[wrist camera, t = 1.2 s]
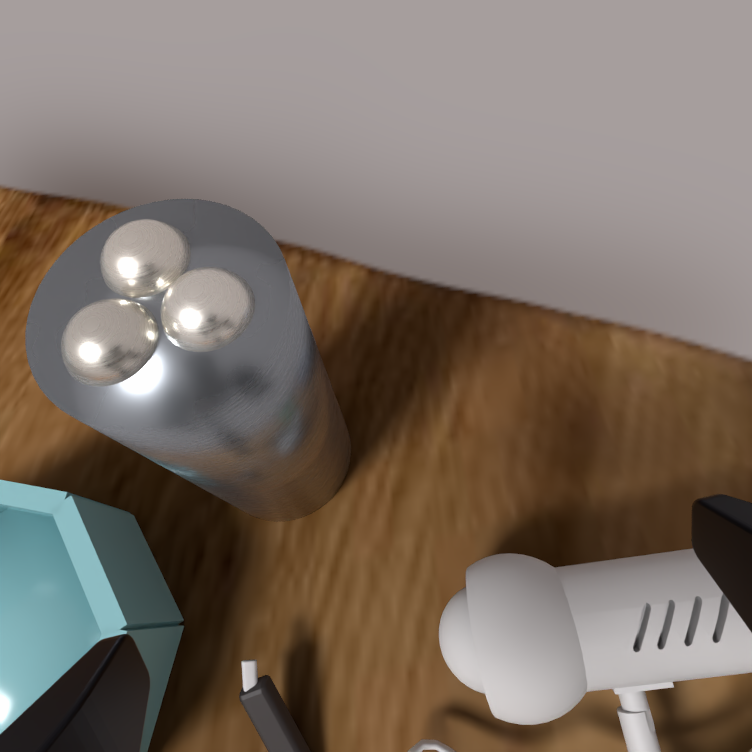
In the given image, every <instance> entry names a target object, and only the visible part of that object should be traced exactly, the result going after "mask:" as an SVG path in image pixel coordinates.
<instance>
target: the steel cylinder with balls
mask: <svg viewBox="0 0 752 752" xmlns="http://www.w3.org/2000/svg"><path fill="white" fill-rule="evenodd" d="M26 352H27V358H28V362H29V365H30V368H31V371H32V374H33V376H34V378H35V380H36V382H37V383H38V385H39V387H40V389H41V390H42V391H43V392H44V394H45V395H46V396H47V397H48V398H49V400H50V401H52V402H53V403H54V404H55V405H56V406H57V407H58V408H60V409H61V410H62V411H64V412H65V413H67V414H69V415H70V416H72V417H74V418H75V419H77V420H79V421H81V422H83V423H84V424H86V425H88V426H90V427H92V428H94V429H95V430H97V431H99V432H101V433H103V434H104V435H106V436H108V437H110V438H112V439H113V440H115V441H117V442H119V443H121V444H123V445H124V446H126V447H128V448H130V449H132V450H133V451H135V452H137V453H139V454H141V455H142V456H144V457H146V458H148V459H150V460H152V461H153V462H155V463H157V464H159V465H161V466H162V467H164V468H166V469H168V470H170V471H171V472H173V473H175V474H177V475H179V476H181V477H182V478H184V479H186V480H188V481H190V482H191V483H193V484H195V485H197V486H199V487H200V488H202V489H204V490H206V491H208V492H210V493H211V494H213V495H215V496H217V497H219V498H220V499H222V500H224V501H226V502H228V503H229V504H231V505H233V506H235V507H237V508H239V509H240V510H242V511H244V512H246V513H248V514H249V515H252V516H254V517H256V518H259V519H263V520H267V521H290V520H295V519H298V518H302V517H304V516H307V515H309V514H311V513H313V512H315V511H316V510H318V509H320V508H321V507H322V506H323V505H325V504H326V503H327V502H328V501H329V500H330V499H331V498H332V497H333V496H334V495H335V493H336V492H337V491H338V489H339V488H340V486H341V485H342V483H343V481H344V479H345V477H346V474H347V472H348V468H349V465H350V459H351V441H350V435H349V432H348V429H347V426H346V423H345V420H344V418H343V415H342V412H341V410H340V407H339V404H338V402H337V399H336V396H335V394H334V391H333V388H332V385H331V383H330V380H329V377H328V375H327V372H326V369H325V367H324V364H323V361H322V359H321V356H320V353H319V350H318V348H317V345H316V342H315V340H314V337H313V334H312V332H311V329H310V326H309V324H308V321H307V318H306V316H305V313H304V310H303V307H302V305H301V302H300V299H299V297H298V294H297V291H296V289H295V286H294V283H293V281H292V278H291V275H290V272H289V270H288V267H287V264H286V262H285V259H284V257H283V255H282V252H281V250H280V248H279V247H278V245H277V243H276V242H275V240H274V239H273V237H272V236H271V235H270V234H269V233H268V232H267V231H266V230H265V229H264V227H262V226H261V225H260V224H259V223H258V222H256V221H255V220H254V219H253V218H251V217H250V216H248V215H246V214H244V213H243V212H241V211H239V210H237V209H234V208H232V207H230V206H227V205H223V204H220V203H216V202H212V201H206V200H199V199H173V200H164V201H158V202H152V203H149V204H145V205H141V206H137V207H134V208H132V209H129V210H126V211H124V212H121V213H119V214H117V215H115V216H113V217H111V218H109V219H107V220H105V221H103V222H102V223H100V224H98V225H97V226H95V227H93V228H92V229H91V230H89V231H88V232H86V233H85V234H84V235H82V236H81V237H80V238H78V239H77V240H76V241H75V242H74V243H73V244H72V245H71V246H69V247H68V248H67V249H66V250H65V252H64V253H63V254H62V255H61V256H60V257H59V258H58V259H57V260H56V261H55V263H54V264H53V266H52V267H51V268H50V270H49V271H48V272H47V274H46V275H45V277H44V279H43V280H42V282H41V284H40V286H39V287H38V290H37V292H36V294H35V296H34V299H33V301H32V304H31V307H30V311H29V314H28V319H27V326H26Z"/></svg>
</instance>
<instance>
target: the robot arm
mask: <svg viewBox="0 0 752 752" xmlns="http://www.w3.org/2000/svg"><path fill="white" fill-rule="evenodd" d="M692 546H693V549H694V552H695V554H696V556H697V558H698V559H699V561H700V562H701V563H702V565H703V566H704V568H705V569H706V570H707V572H708V573H709V574H710V576H711V577H712V579H713V580H714V581H715V583H716V584H717V586H718V587H719V588H720V590H721V591H722V592H723V594H724V595H725V597H726V598H727V599H728V601H729V602H730V604H731V605H732V606H733V608H734V609H735V611H736V612H737V613H738V615H739V616H740V617H741V619H742V620H743V622H744V623H745V624H746V626H747V627H748V629H749V630H750V631H751V633H752V503H750V502H746V501H743V500H740V499H737V498H733V497H730V496H727V495H723V494H716V495H712V496H708V497H703V498H699V499H697V500H695V501H694V503H693V505H692ZM149 692H150V676H149V672H148V669H147V667H146V665H145V663H144V660H143V658H142V656H141V654H140V652H139V650H138V648H137V645H136V643H135V641H134V639H133V638H132V637H131V636H130V635H128V634H121V635H117V636H113V637H108V638H105V639H102V640H100V641H99V642H97V643H96V644H95V645H94V646H93V647H92V648H91V649H90V650H89V651H88V652H87V653H86V654H85V655H83V656H82V657H81V658H80V659H79V660H78V661H77V662H76V663H75V664H74V665H73V666H72V667H71V668H70V669H69V670H68V671H67V672H65V673H64V674H63V675H62V676H61V677H60V678H59V679H58V680H57V681H56V682H55V683H54V684H53V685H52V686H51V687H50V688H49V689H48V690H46V691H45V692H44V693H43V694H42V695H41V696H40V697H39V698H38V699H37V700H36V701H35V702H34V703H33V704H32V705H31V706H30V707H28V708H27V709H26V710H25V711H24V712H23V713H22V714H21V715H20V716H19V717H18V718H17V719H16V720H15V721H14V722H13V723H12V724H10V725H9V726H8V727H7V728H6V729H5V730H4V731H3V732H2V733H1V734H0V752H140V747H141V741H142V735H143V729H144V722H145V716H146V710H147V704H148V698H149Z"/></svg>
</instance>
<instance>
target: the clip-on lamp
mask: <svg viewBox="0 0 752 752" xmlns="http://www.w3.org/2000/svg"><path fill="white" fill-rule="evenodd" d="M439 642H440V647H441V651H442V654H443V657H444V659H445V661H446V663H447V665H448V667H449V668H450V670H451V671H452V672H453V674H454V675H455V676H456V677H457V678H458V679H459V680H460V681H461V682H462V683H464V684H465V685H466V686H468V687H470V688H471V689H473V690H475V691H478V692H481V693H485V694H486V698H487V701H488V704H489V706H490V709H491V712H492V714H493V715H494V716H495V718H498V719H501V720H503V721H506V722H510V723H515V724H521V725H535V724H540V723H546V722H549V721H552V720H554V719H557V718H559V717H561V716H562V715H564V714H566V713H567V712H569V711H570V710H571V709H572V708H573V707H574V706H575V705H577V704H578V703H579V702H580V700H581V699H582V698H583V696H584V695H585V693H586V692H589V691H597V690H606V689H612V690H613V691H614V693H615V694H618V695H619V698H620V702H621V706H620V707H618V708H617V712H618V716H619V720H620V723H621V727H622V731H623V734H624V738H625V742H626V746H627V749H628V752H661V749H660V746H659V742H658V739H657V735H656V729H655V727H654V722H653V718H652V715H651V711H650V708H649V704H648V701H647V697H646V694H645V691H647V690H655V689H663V688H671V687H674V686H673V682H675V681H683V680H692V679H700V678H709V677H718V676H726V675H735V674H743V673H752V633H751V631H750V630H749V629H748V627H747V626H746V624H745V623H744V622H743V620H742V619H741V617H740V616H739V615H738V613H737V612H736V611H735V609H734V608H733V606H732V605H731V604H730V602H729V601H728V599H727V598H726V597H725V595H724V594H723V592H722V591H721V590H720V588H719V587H718V586H717V584H716V583H715V581H714V580H713V579H712V577H711V576H710V574H709V573H708V572H707V570H706V569H705V568H704V566H703V565H702V563H701V562H700V561H699V559H698V558H697V556H696V554H695V552H694V549H686V550H678V551H671V552H664V553H657V554H649V555H642V556H635V557H628V558H620V559H613V560H606V561H599V562H592V563H584V564H577V565H570V566H563V567H555V568H554V567H553V566H551V565H549V564H548V563H546V562H544V561H541V560H539V559H537V558H534V557H531V556H527V555H522V554H512V553H507V554H497V555H493V556H489V557H486V558H483V559H481V560H479V561H476V562H475V563H473V564H472V565H470V566H469V567H467V571H466V587H465V588H463V589H462V590H460V591H459V592H457V593H456V594H455V595H454V596H453V597H452V598H451V599H450V601H449V602H448V603H447V605H446V607H445V609H444V611H443V614H442V617H441V620H440V626H439ZM242 677H243V687H242V689H241V692H240V696H239V698H240V701H241V703H242V705H243V706H244V708H245V710H246V712H247V714H248V715H249V717H250V719H251V721H252V723H253V725H254V726H255V728H256V730H257V732H258V734H259V735H260V737H261V739H262V741H263V743H264V744H265V746H266V748H267V750H268V752H311V751H310V749H309V747H308V745H307V744H306V742H305V740H304V738H303V736H302V734H301V733H300V731H299V729H298V727H297V725H296V723H295V722H294V720H293V718H292V716H291V714H290V712H289V711H288V709H287V707H286V705H285V703H284V701H283V700H282V698H281V696H280V694H279V692H278V690H277V689H276V687H275V685H274V683H273V681H272V679H271V678H270V676H268V675H265V676H262V677H259V678H258V674H257V660H244V661H242ZM423 750H437V751H439V752H456V751H454V750H453V749H452V748H450V747H449V746H447V745H445V744H443V743H441V742H439V741H438V740H423V739H422V740H421V741H419V742H418V743H417V744H416V745H415V746H413V747H412V748H411V749H410V750H408V752H422V751H423ZM749 752H752V749H751V750H750V751H749Z"/></svg>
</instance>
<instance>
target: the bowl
mask: <svg viewBox="0 0 752 752" xmlns="http://www.w3.org/2000/svg"><path fill="white" fill-rule="evenodd" d="M182 621H184V619H183V617H182V615H181V613H180V611H179V609H178V607H177V605H176V603H175V601H174V598H173V596H172V594H171V592H170V590H169V588H168V586H167V584H166V582H165V580H164V578H163V575H162V573H161V571H160V569H159V567H158V565H157V563H156V561H155V559H154V557H153V554H152V552H151V550H150V548H149V546H148V544H147V542H146V540H145V538H144V536H143V534H142V531H141V529H140V527H139V525H138V523H137V521H136V519H135V517H134V515H132V514H130V512H127V511H124V510H121V509H118V508H115V507H112V506H108V505H105V504H102V503H99V502H96V501H93V500H90V499H87V498H84V497H81V496H78V495H75V494H72V493H68V492H64V491H58V490H53V489H48V488H42V487H37V486H31V485H26V484H21V483H15V482H10V481H4V480H0V734H1V733H2V732H3V731H4V730H5V729H6V728H7V727H8V726H9V725H10V724H12V723H13V722H14V721H15V720H16V719H17V718H18V717H19V716H20V715H21V714H22V713H23V712H24V711H25V710H26V709H27V708H28V707H30V706H31V705H32V704H33V703H34V702H35V701H36V700H37V699H38V698H39V697H40V696H41V695H42V694H43V693H44V692H45V691H46V690H48V689H49V688H50V687H51V686H52V685H53V684H54V683H55V682H56V681H57V680H58V679H59V678H60V677H61V676H62V675H63V674H64V673H65V672H67V671H68V670H69V669H70V668H71V667H72V666H73V665H74V664H75V663H76V662H77V661H78V660H79V659H80V658H81V657H82V656H83V655H85V654H86V653H87V652H88V651H89V650H90V649H91V648H92V647H93V646H94V645H95V644H96V643H97V642H99V641H100V640H102V639H105V638H108V637H113V636H117V635H121V634H128V635H130V636H131V637H132V638H133V639H134V641H135V643H136V645H137V648H138V650H139V652H140V654H141V656H142V658H143V660H144V663H145V665H146V667H147V669H148V672H149V676H150V692H149V698H148V704H147V710H146V716H145V722H144V729H143V735H142V741H141V747H140V752H147V751H148V748H149V744H150V741H151V737H152V734H153V731H154V727H155V724H156V720H157V717H158V714H159V710H160V707H161V703H162V700H163V696H164V693H165V690H166V686H167V683H168V679H169V676H170V673H171V669H172V666H173V662H174V659H175V656H176V652H177V649H178V645H179V642H180V639H181V635H182V632H183V628H184V626H183V625H178V624H179V623H181V622H182Z"/></svg>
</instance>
